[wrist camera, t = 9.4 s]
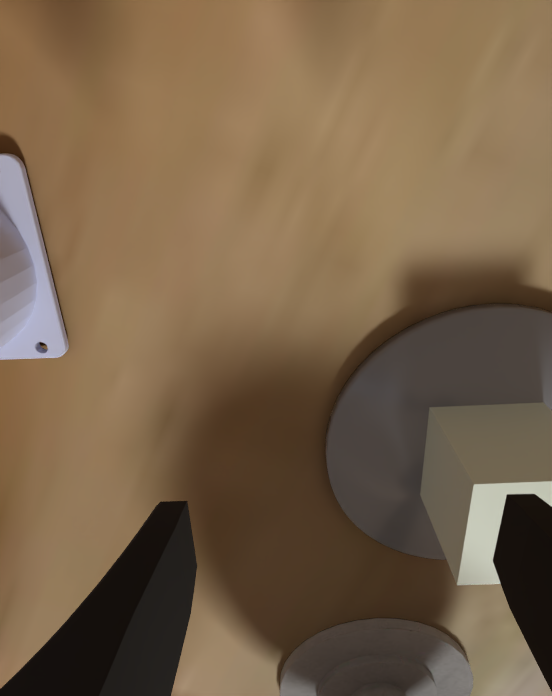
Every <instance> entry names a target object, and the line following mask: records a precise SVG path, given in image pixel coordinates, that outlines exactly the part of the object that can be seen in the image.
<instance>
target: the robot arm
mask: <svg viewBox="0 0 552 696" xmlns="http://www.w3.org/2000/svg"><path fill="white" fill-rule="evenodd" d="M39 342H43V343H45V344H46V345H47V347H48V350H47V349H43V348H42V347H41V346H40V344H39ZM68 348H69V345H68V340H67V335H66V331H65V327H64V323H63V319H62V315H61V311H60V307H59V303H58V299H57V295H56V291H55V287H54V283H53V279H52V275H51V271H50V266H49V262H48V258H47V254H46V250H45V246H44V242H43V238H42V234H41V230H40V226H39V222H38V218H37V214H36V210H35V206H34V202H33V197H32V193H31V189H30V185H29V181H28V177H27V173H26V169H25V166H24V164H23V162H22V161H21V160H20V158H19V157H17V156H15V155H14V154H9V153H3V154H0V360H2V359H30V358H57V357H61V356H62V355H64V354H65V353H66V352H67V350H68ZM493 563H494V566H495V569H496V572H497V575H498V577H499V580H500V583H501V586H502V589H503V591H504V594H505V596H506V599H507V602H508V604H509V607H510V609H511V611H512V613H513V615H514V617H515V620H516V622H517V624H518V626H519V628H520V630H521V632H522V634H523V636H524V638H525V640H526V642H527V644H528V646H529V648H530V650H531V652H532V654H533V656H534V658H535V660H536V662H537V664H538V666H539V668H540V670H541V672H542V674H543V676H544V678H545V679H546V681H547V683H548V685H549V687H550V689H551V691H552V507H551V506H550V505H549V504H547V503H546V502H545V501H544V500H542V499H541V498H540V497H538V496H537V495H536V494H507V496H506V501H505V505H504V510H503V515H502V519H501V524H500V529H499V533H498V538H497V543H496V547H495V552H494V557H493ZM196 570H197V563H196V556H195V549H194V543H193V536H192V530H191V523H190V516H189V510H188V503H187V501H170V502H160V503H159V504H158V505H157V506H156V507H155V509H154V510H153V512H152V513H151V514H150V516H149V517H148V519H147V520H146V521H145V523H144V524H143V526H142V527H141V528H140V530H139V531H138V533H137V534H136V535H135V537H134V538H133V539H132V541H131V542H130V543H129V545H128V546H127V548H126V549H125V550H124V552H123V553H122V554H121V555H120V557H119V558H118V559H117V561H116V562H115V563H114V564H113V566H112V567H111V568H110V569H109V571H108V572H107V573H106V575H105V576H104V577H103V578H102V580H101V581H100V582H99V583H98V585H97V586H96V587H95V588H94V589H93V591H92V592H91V593H90V594H89V595H88V596H87V598H86V599H85V600H84V601H83V602H82V603H81V605H80V606H79V607H78V608H77V609H76V610H75V612H74V613H73V614H72V615H71V616H70V617H69V619H68V620H67V621H66V622H65V623H64V624H63V625H62V626H61V628H60V629H59V630H58V631H57V632H56V633H55V634H54V635H53V636H52V637H51V638H50V640H49V641H48V642H47V643H46V644H45V645H44V646H43V647H42V648H41V649H40V650H39V651H38V652H37V653H36V654H35V655H34V656H33V657H32V658H31V659H30V660H29V661H28V662H27V663H26V664H25V665H24V666H23V668H22V669H21V670H20V671H19V672H18V673H16V674H15V675H14V676H13V677H12V678H11V679H10V680H9V681H8V682H7V683H6V684H5V685H4V686H3V687H2V688H1V689H0V696H171V692H172V688H173V684H174V680H175V676H176V672H177V668H178V664H179V660H180V656H181V651H182V647H183V643H184V639H185V635H186V631H187V626H188V622H189V618H190V614H191V607H192V600H193V593H194V585H195V577H196Z"/></svg>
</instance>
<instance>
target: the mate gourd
mask: <svg viewBox="0 0 552 696" xmlns="http://www.w3.org/2000/svg"><path fill="white" fill-rule="evenodd" d="M472 688H473V675H472V671H471V668H470V665H469V662H468V660H467V657H466V654H465V653H464V651H463V650H462V649H461V647H460V646H459V644H458V643H457V642H455V641H454V640H453V639H452V638H451V637H449V636H448V635H447V634H445V633H443V632H441V631H439V630H438V629H436V628H434V627H431V626H428V625H425V624H422V623H419V622H415V621H409V620H403V619H392V618H374V619H365V620H356V621H352V622H348V623H344V624H340V625H336V626H334V627H331V628H329V629H326V630H324V631H321V632H319V633H317V634H316V635H314V636H312V637H311V638H309V639H307V640H305V641H304V642H303V643H302V644H301V645H300V646H298V647H297V648H296V649H295V650H294V651H293V652H292V653H291V655H290V656H289V657H288V659H287V660H286V661H285V664H284V666H283V669H282V671H281V676H280V696H470V694H471V691H472Z"/></svg>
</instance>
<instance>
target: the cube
mask: <svg viewBox="0 0 552 696" xmlns="http://www.w3.org/2000/svg"><path fill="white" fill-rule="evenodd" d="M507 494H536V495H537V496H538V497H540V498H541V499H542V500H544V501H545V502H546V503H547V504H549V505H550V506H551V507H552V411H551V410H550V409H549V408H548V407H547V406H546V405H545V404H544V403H543V402H542V403H518V404H495V405H472V406H448V407H429V416H428V426H427V435H426V445H425V454H424V464H423V473H422V482H421V492H420V496H421V498H422V501H423V503H424V506H425V508H426V510H427V513H428V515H429V518H430V520H431V523H432V525H433V528H434V530H435V532H436V535H437V537H438V540H439V542H440V545H441V547H442V550H443V552H444V554H445V557H446V559H447V562H448V564H449V567H450V569H451V572H452V574H453V577H454V579H455V581H456V584H457V585H480V584H501V583H500V580H499V577H498V575H497V572H496V569H495V566H494V563H493V557H494V552H495V547H496V543H497V538H498V533H499V529H500V524H501V519H502V515H503V510H504V505H505V501H506V496H507Z"/></svg>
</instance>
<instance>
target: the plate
mask: <svg viewBox="0 0 552 696" xmlns="http://www.w3.org/2000/svg"><path fill="white" fill-rule="evenodd" d="M542 402H543V403H544V404H545V405H546V406H547V407H548V408H549V409H550V410H551V411H552V312H551V311H547V310H544V309H541V308H537V307H532V306H525V305H519V304H497V303H493V304H483V305H473V306H468V307H463V308H458V309H454V310H449V311H446V312H444V313H441V314H438V315H435V316H432V317H429V318H427V319H425V320H422V321H420V322H418V323H416V324H414V325H412V326H410V327H408V328H406V329H404V330H403V331H401V332H400V333H398V334H396V335H395V336H393V337H392V338H390V339H389V340H387V341H386V342H385V343H384V344H382V345H381V346H380V347H379V348H377V349H376V350H375V351H374V352H372V353H371V354H370V355H369V356H368V357H367V358H366V359H365V360H364V361H363V362H362V363H361V364H360V365H359V366H358V368H357V369H356V370H355V372H354V373H353V374H352V376H351V377H350V378H349V379H348V381H347V382H346V384H345V385H344V387H343V389H342V391H341V392H340V394H339V396H338V398H337V400H336V402H335V405H334V407H333V409H332V412H331V414H330V418H329V422H328V427H327V431H326V442H325V452H326V464H327V470H328V475H329V479H330V483H331V487H332V490H333V492H334V494H335V497H336V499H337V501H338V503H339V504H340V506H341V508H342V509H343V511H344V512H345V514H346V515H347V516H348V517H349V518H350V520H351V521H352V522H353V523H354V524H355V525H356V526H357V527H358V528H360V529H361V530H362V531H363V532H364V533H365V534H367V535H368V536H370V537H371V538H373V539H374V540H376V541H378V542H379V543H381V544H383V545H385V546H387V547H390V548H392V549H394V550H397V551H400V552H403V553H406V554H409V555H414V556H418V557H423V558H430V559H438V560H447V559H446V557H445V554H444V552H443V550H442V547H441V545H440V542H439V540H438V537H437V535H436V532H435V530H434V528H433V525H432V523H431V520H430V518H429V515H428V513H427V510H426V508H425V506H424V503H423V501H422V498H421V496H420V492H421V482H422V473H423V464H424V454H425V445H426V435H427V426H428V416H429V407H448V406H472V405H495V404H518V403H542Z"/></svg>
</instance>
